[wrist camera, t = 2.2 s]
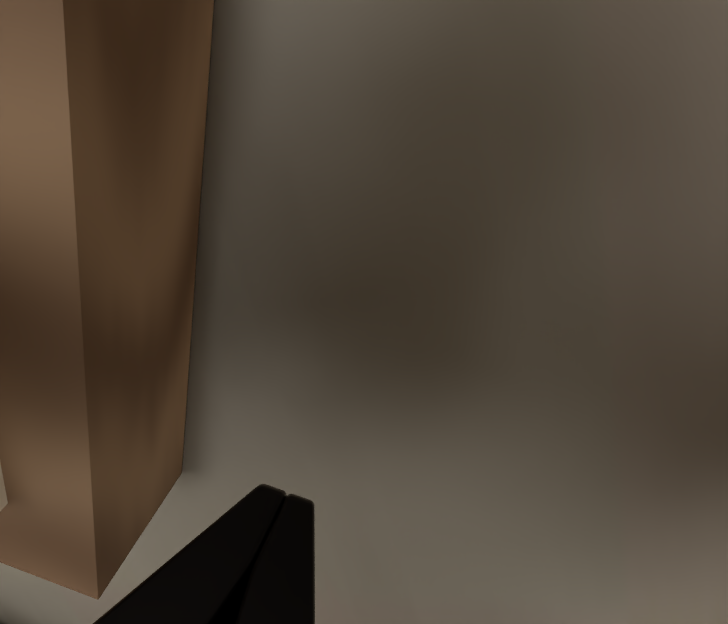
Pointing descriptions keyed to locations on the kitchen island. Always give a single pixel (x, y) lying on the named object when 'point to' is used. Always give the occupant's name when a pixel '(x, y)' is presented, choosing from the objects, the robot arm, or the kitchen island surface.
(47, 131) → the deck
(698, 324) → the kitchen island surface
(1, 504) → the block
